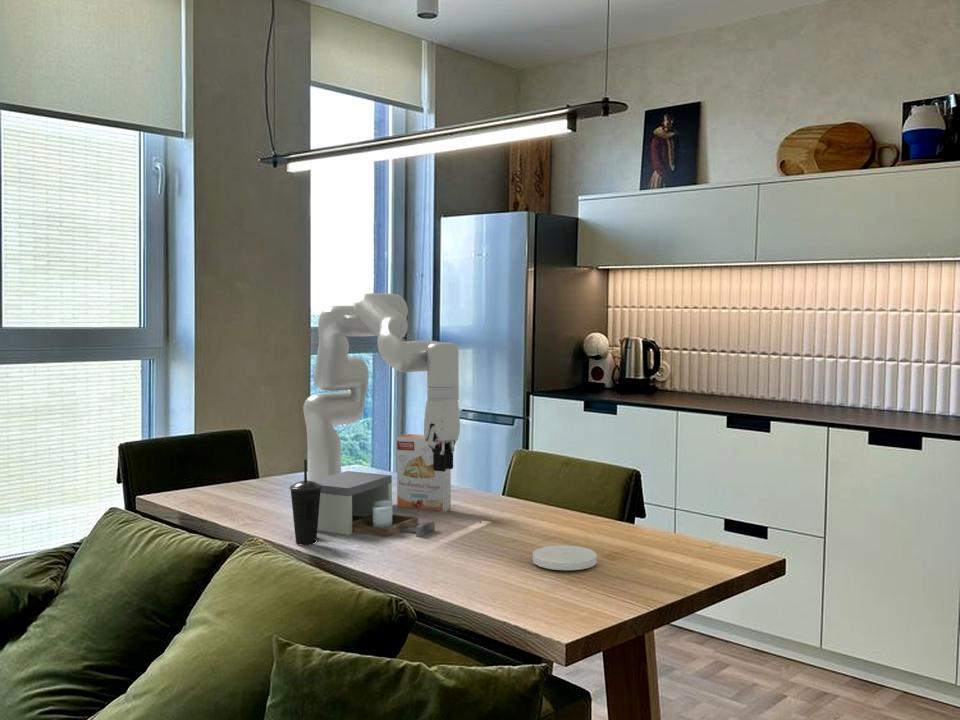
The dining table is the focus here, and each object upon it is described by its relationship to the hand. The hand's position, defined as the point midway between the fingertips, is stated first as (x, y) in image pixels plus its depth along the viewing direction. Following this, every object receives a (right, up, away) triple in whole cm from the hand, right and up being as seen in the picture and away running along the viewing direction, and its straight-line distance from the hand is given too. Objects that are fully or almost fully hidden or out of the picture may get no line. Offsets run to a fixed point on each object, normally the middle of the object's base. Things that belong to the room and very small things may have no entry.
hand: (443, 469), depth 217 cm
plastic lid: (+27, -19, -20) cm, 39 cm away
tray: (-12, -17, +6) cm, 22 cm away
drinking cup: (-33, -18, -2) cm, 37 cm away
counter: (-20, -17, +10) cm, 28 cm away
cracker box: (-7, -16, +32) cm, 36 cm away
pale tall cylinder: (-16, -15, +12) cm, 25 cm away
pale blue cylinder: (-15, -16, +4) cm, 22 cm away
